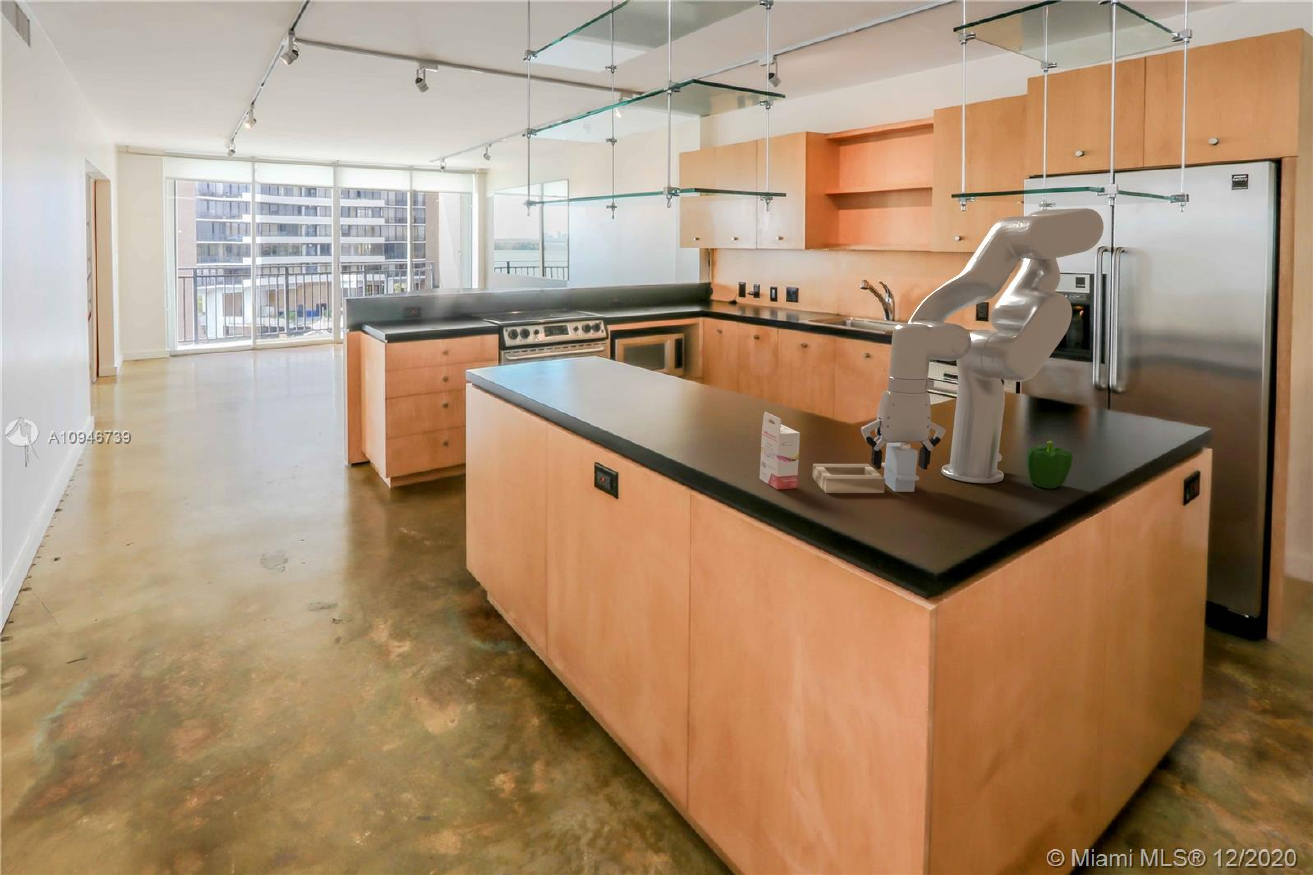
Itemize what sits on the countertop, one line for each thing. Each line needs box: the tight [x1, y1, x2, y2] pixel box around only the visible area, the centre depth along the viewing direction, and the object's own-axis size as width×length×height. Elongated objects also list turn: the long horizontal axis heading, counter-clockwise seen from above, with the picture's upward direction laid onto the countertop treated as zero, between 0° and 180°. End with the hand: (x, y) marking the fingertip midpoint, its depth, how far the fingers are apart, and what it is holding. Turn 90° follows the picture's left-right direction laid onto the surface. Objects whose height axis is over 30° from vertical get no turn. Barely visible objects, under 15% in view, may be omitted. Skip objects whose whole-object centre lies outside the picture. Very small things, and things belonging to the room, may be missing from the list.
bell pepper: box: [1026, 440, 1074, 489], centre depth 164 cm, size 8×8×10 cm
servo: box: [881, 442, 920, 493], centre depth 162 cm, size 4×11×10 cm, turn 3°
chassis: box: [811, 463, 886, 494], centre depth 163 cm, size 11×12×3 cm
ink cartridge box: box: [759, 411, 801, 490], centre depth 162 cm, size 9×5×15 cm, turn 18°
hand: (899, 467), depth 162 cm, fingers open, 9 cm apart
